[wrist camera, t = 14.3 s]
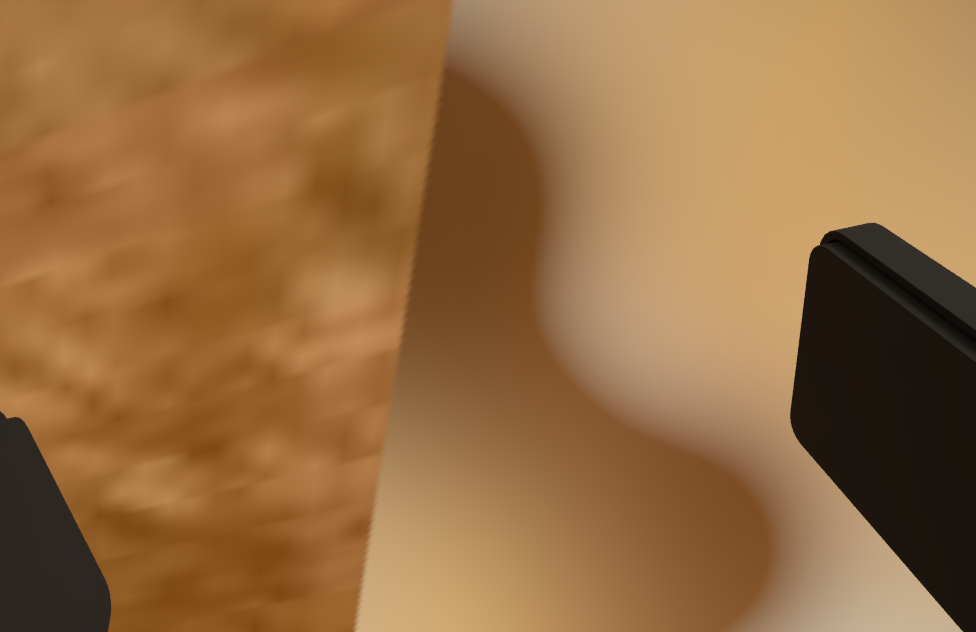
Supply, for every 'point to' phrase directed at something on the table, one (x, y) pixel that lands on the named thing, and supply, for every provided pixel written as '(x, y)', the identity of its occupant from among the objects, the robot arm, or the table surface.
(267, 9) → the table surface
